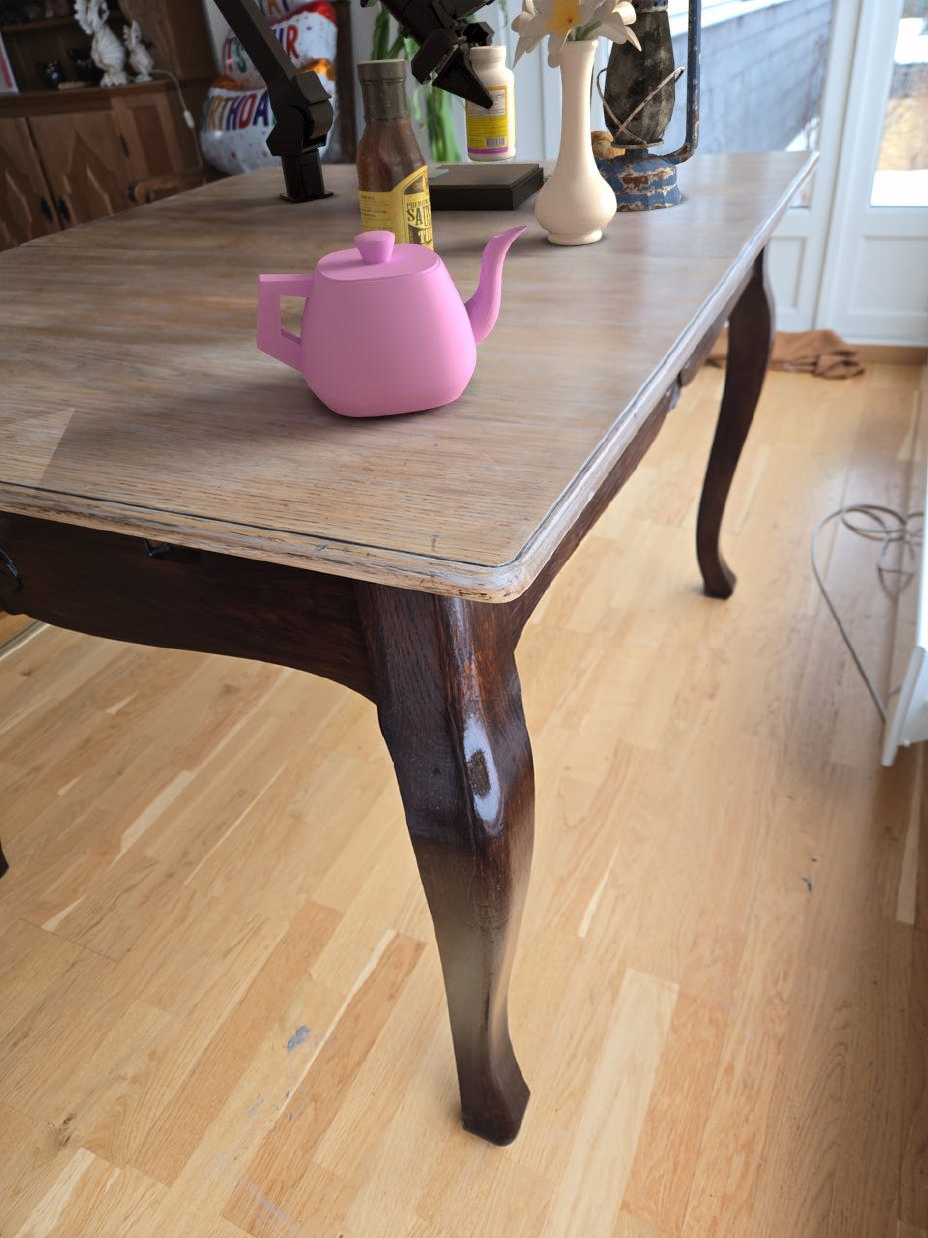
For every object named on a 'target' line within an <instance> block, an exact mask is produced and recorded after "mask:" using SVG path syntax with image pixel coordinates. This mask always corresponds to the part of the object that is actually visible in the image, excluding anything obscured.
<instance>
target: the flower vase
mask: <svg viewBox="0 0 928 1238" xmlns="http://www.w3.org/2000/svg"><path fill="white" fill-rule="evenodd" d="M631 2H632V0H522V3H521V12H520V14H518V15H517V16H515V18H514V19H513V20H512V22H511V24H510V29H511V30H512V32H514V33H518V36H519V37H518V40H517V42H516V43H517V44H516V48H515V52H514V59H513V64H512V70H514V69H515V66H516V65H517V64H518V62H519V61H520V59H521V58H522V56H523V55H524V53H526V54H532V53H533V51H534V50H535V49H536V48H537V47H538V46H539V44H540V43H541V42H542V41H543V40H544V39H545V38H546V37H547V36H548V35H549V37H548V39H547V51H548V55H547V65H548V67H549V68H551V69H556V68H558V67H559V72H560V77H561V80H560V81H561V119H560V121H561V124H560V138H559V139H560V141H559V142H560V143H559V149H558V154H557V158H556V161H555V165H554V167H553V170H552V172H551V175H550V176H549V178H548V179H547V181H546V182H544V186H543V187H541V188H540V189H539V190H538V193H537V195H536V197H535V199H534V203H533V215H534V218H535V220H536V222H537V223H538V224H539V226H540V227H541V228H542V229H543V230H545V231H547V232H548V233H547V240H548V241H549V242H550V243H551V244H555V245H560V246H581V245H588V244H592V243H595V242H597V241H599V240H601V238H602V236H603V232H602V229H604V228H606V227H607V226H608V225H609V224H610V222H611V221H612V219H613V218H614V216H615V215H616V213H617V211H616V210H617V202H616V197H615V194H614V192H613V190H612V189H611V187H610V185H609V184H608V183H607V182H606V180H605V179H604V178H603V177H602V176H601V174H600V173H599V171H598V168H597V166H596V163H595V160H594V156H593V152H592V145H591V132H592V130H591V112H590V86H591V75H592V68H593V65H594V66H595V57H596V53H597V49H598V47H599V45H600V42H599V37H603V38H605V39H608V40H609V41H611V42H612V43H613V42H615V43H618V44H624V43H625V42H626V40H627V39H628V40H629V41H630V42H631V43H632V44H633V45H634V46H635V47H636V48H637V49H638V50H640V51H641V47H640V44H639V42H638V39H637V37H636V35H635V34H634V32H633V31H632V30H631V29H630V28H629V27H626V26H625V25H628V24H632V23H634V22H635V20H636V14H635V10H634V8H633V6H632V5H631ZM594 56H595V57H594Z"/></svg>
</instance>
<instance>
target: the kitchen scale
mask: <svg viewBox="0 0 928 1238" xmlns="http://www.w3.org/2000/svg"><path fill="white" fill-rule="evenodd" d="M544 170H545V169H544V167H543V166H542V167H541V166H540V163H487V164H486V163H485V164H483V163H482V164H479V163H478V164H476V163H475V164H441V165H439V166H437V167H436V168H434V169H431V170H430V171H427V174H428V188H429V200H430V211H514V210H516V208H518V207H519V206H521V204H523V203H524V202H525V201H527V200H528V199H529V198H530V197H532V196H533V195H534V194H535V193H536V192H539V191H540V190H541V188H542V187H543V186H544V184H545V180H544V179H545V176H544V175H545V174H544V173H545V171H544Z"/></svg>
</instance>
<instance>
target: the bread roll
mask: <svg viewBox="0 0 928 1238" xmlns="http://www.w3.org/2000/svg"><path fill="white" fill-rule="evenodd" d="M612 141H613V136H612V135H611V133H610V132H609V131H606V130H593V131H592V130H591V145H592V152H593V154H594V155H596V156H599V157H601V158H607V159H610V158H614V157H615V156H618V155H623V154H625V150H626V149H618V148H613V147H611V145H610V144H611V142H612Z"/></svg>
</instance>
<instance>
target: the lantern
mask: <svg viewBox="0 0 928 1238" xmlns="http://www.w3.org/2000/svg"><path fill="white" fill-rule="evenodd" d="M631 5H632V6H633V8H634V10H635V14H636V20H635V22H634V23H632V24H628V25H625V26H626V27H629V28H630V29H631V30H632V31H633V32H634V34H635V35H636V37H637V39H638V42H639V44H640V47H641V51H640V50H638V49H637V48H636V47H635V46H634V45H633V44H632V43H631V42H630V41H629V40H628V39H627V40H626V42H625V43H624V44H618V43H615V42H613V41H612V43H611V47H610V53H609V57H608V61H607V67H605V68H602V69H601V70H600V71H599V72H598V74H597V76H596V87H597V92H598V95H599V98H600V100H601V102H602V110H603V119H604V125H605V127H606V128H607V130H608V132H609V133H611V135H612V136H613V141H612V142H611V144H610V145H611V147H613V148H618V149H626V150H625V154H623V155H618V156H615V157H614V158H610V159H607V158H601V157H599V156H596V155H594V154H593V156H594V160H595V163H596V166H597V168H598V171H599V173H600V174H601V176H602V177H603V178H604V179H605V180H606V182H607V183H608V184H609V185H610V187H611V189H612V190H613V192H614V194H615V197H616V202H617V210H616V212H637V211H649V210H657V209H663V208H669V207H671V206H674V205H677V204H679V203H680V202H682V200H683V197H682V194H681V192H680V189H679V186H678V184H677V177H678V176H677V173H678V168H677V165H680V164H683V163H686V162H687V161H688V160H689V159H691V158H692V157H693V156H694V154H695V152H696V150H697V149H698V145H699V141H700V105H701V104H700V101H701V99H700V97H701V96H700V95H701V94H700V93H701V48H702V47H701V46H702V44H701V43H702V41H701V40H702V0H688V8H687V9H688V14H687V16H688V18H687V22H688V23H687V60H686V61H687V63H686V64H687V67H685V66H683V65H681V66H679V67H678V68H675V67H676V64H675V56H674V49H673V41H672V35H671V27H670V26H671V25H670V22H669V21H670V19H669V12H668V11H667V10H668V8H669V0H632V2H631ZM595 57H596V55H595V56H594V58H595ZM594 68H595V64H594V65H593V68H592V75H591V86H590V113H591V112H592V111H591V110H592V97H593V84H594V71H595V69H594ZM686 68H687V69H686ZM685 70H686V112H685V113H686V117H685V139H684V142H683V144H682V146H680V147H679V148H678V149H675V150H674V151H672V152H669V153H665V154H659V155H658V154H655V153H649V149H650V148H655V147H660V146H663V145H665V140H664V139H663V138H664V137H665V134H666V131H667V126H668V125H669V124H670V122H671V121H672V117H673V113H674V107H675V102H676V83H677V82H678V81H679V80H680V78H681V77H682V75H683V74H684V72H685ZM604 72H606V73H605V82H604V89H603V91H604V92H602V88H601V85H600V76H601V74H602V73H604ZM676 75H677V76H676Z"/></svg>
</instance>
